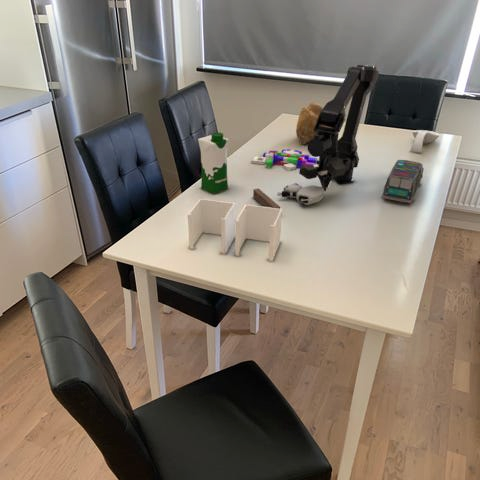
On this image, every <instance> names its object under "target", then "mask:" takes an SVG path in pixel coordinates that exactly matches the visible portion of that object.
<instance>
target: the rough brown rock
mask: <svg viewBox="0 0 480 480" xmlns="http://www.w3.org/2000/svg"><path fill="white" fill-rule="evenodd" d="M322 109H323V107H322V106H321V105H320V104H319V103H316V102H310V104H309V105H308V106H307V107H305V106H304V107H302V108H301V109H300V112H299V116H298V120H297V122H296V129H295V133H296V134H295V135H296V137H297V138H298V140H299V142H300V144H301V145H307V144H308V143H309V141H310V140H312V139H313V138H314V135H315V134H317V133H318V132H316V131H314V128H315V125H316V122H317V119H318V117H319V114H320V112H321V110H322ZM320 126H322V127H327V128H328V126H323V125H320Z"/></svg>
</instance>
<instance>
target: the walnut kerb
mask: <svg viewBox="0 0 480 480" xmlns="http://www.w3.org/2000/svg"><path fill="white" fill-rule="evenodd" d="M252 190H253V193H252V194H253V195H252V198H253V200H255V201H256V202H257V203H258V204H259V206H262V207H270V208H278V209H281V206H280V204H278V203H277V202H276V201H274V200H273V199H272V198H270V197H269V195H267V194H266V193H265V192H264V191H262V190H261V189H260V188H253V189H252Z"/></svg>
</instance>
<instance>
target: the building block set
mask: <svg viewBox="0 0 480 480" xmlns="http://www.w3.org/2000/svg"><path fill="white" fill-rule="evenodd" d="M317 161H318V157H310V154H306V153H303V151H301V150H299V149H294V150H291V149H289V148H288V149H287V148H286V149H284V148H283V149H282V150H281V151H278V150H269V151H268V152H264V153H263V154H262V156H257V155H255V156H254V157H253V159H251V163H252V164H257V165H266V166H265V168H266V169H271V168H272V166H273V165H279V166H283V168H284V169H285V170H287V171H293V170H296V169H300V167H301V166H304V165H309V164H310V165H312V166H314V167H315V164H317Z"/></svg>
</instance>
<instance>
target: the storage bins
mask: <svg viewBox="0 0 480 480" xmlns="http://www.w3.org/2000/svg"><path fill="white" fill-rule="evenodd" d="M282 218H283V208H280V209H278V208H270V207H263V206H261V205H253V204H244V206H243V208H242V210H241V211H240V213H239V214H238V216H237V218H236V202H229V201H220V200H213V199H205V198H199V200H197V202H196V203H195V204H194V205H193V207H192V208H191V210H190V211H189V212H188V214H187V225H188V226H187V228H188V229H187V230H188V243H189V244H188V245H189V246H188V247H189V249H190V250H194V249H195V248H194V247H195V246H194V245H195V244H196V242H197V241H198V239H199V238H200V237H201V235H202V234H203V233H204V234H211V235H218V236H220V237H221V238H220V240H221V254H223V255H226V254H227V252H228V250H229V249H230V247H231V246H232V243H233V241H234V240H235V241H234V243H235V246H234V247H235V248H234V249H235V255H234V256H236V257H240V250H241V248H242V246H243V244H244V242H245V241H246V239H248V240H253V241H254V240H255V241H261V242H268V243H269V246H268V247H269V248H268V261H269V262H273V260H274V258H275V255H276V253H277V251H278V248H279V246H280V243H281V233H282V220H283V219H282Z"/></svg>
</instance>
